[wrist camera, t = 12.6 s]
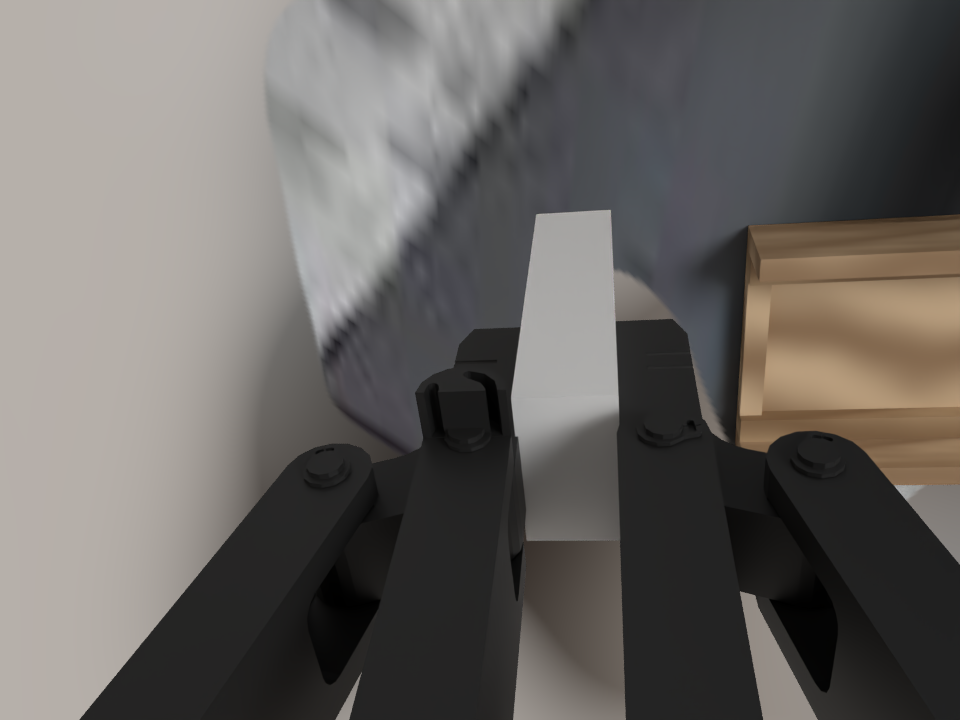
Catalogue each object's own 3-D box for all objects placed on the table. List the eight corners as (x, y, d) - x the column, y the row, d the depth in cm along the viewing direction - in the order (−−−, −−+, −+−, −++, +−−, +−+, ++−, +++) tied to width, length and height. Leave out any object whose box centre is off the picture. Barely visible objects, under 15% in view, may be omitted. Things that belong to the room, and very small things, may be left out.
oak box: (748, 225, 45) (760, 259, 42) (1088, 207, 43) (1130, 242, 39) (735, 442, 52) (744, 486, 49) (1024, 437, 50) (1055, 483, 47)
